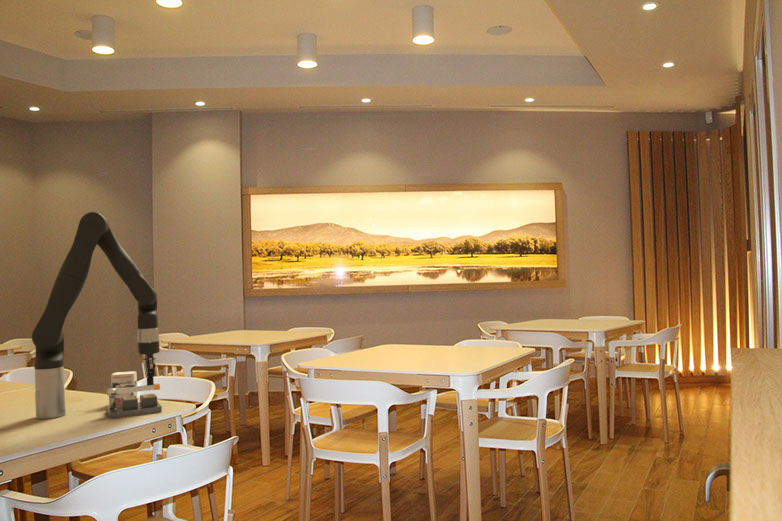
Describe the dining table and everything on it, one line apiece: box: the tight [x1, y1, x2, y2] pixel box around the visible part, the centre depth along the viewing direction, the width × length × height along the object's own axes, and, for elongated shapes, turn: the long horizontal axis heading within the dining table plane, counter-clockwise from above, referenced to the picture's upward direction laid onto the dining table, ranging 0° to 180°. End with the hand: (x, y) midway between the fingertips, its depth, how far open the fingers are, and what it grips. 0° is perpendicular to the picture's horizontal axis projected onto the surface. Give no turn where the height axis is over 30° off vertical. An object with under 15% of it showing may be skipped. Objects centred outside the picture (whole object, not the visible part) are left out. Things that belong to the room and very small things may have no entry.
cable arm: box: [106, 383, 161, 397], centre depth 238 cm, size 18×3×2 cm, turn 116°
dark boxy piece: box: [106, 393, 163, 420], centre depth 238 cm, size 17×14×7 cm
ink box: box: [110, 370, 139, 405], centre depth 256 cm, size 8×5×12 cm, turn 98°
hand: (150, 387), depth 247 cm, fingers closed
